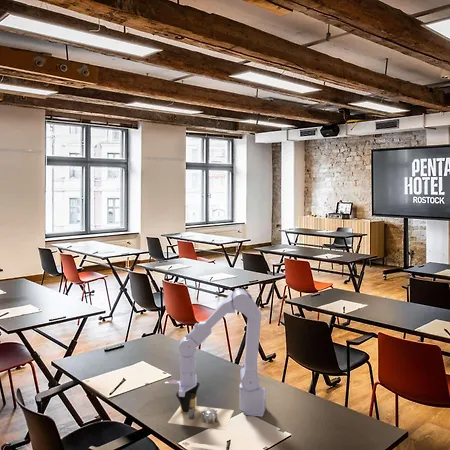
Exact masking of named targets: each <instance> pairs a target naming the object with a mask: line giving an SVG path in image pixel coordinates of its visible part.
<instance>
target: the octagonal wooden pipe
mask: <svg viewBox="0 0 450 450" xmlns="http://www.w3.org/2000/svg"><path fill="white" fill-rule="evenodd" d="M189 394H193V393H189ZM197 396H198V395H197V394H196V395H195V394H193V395H192V397H191V400H190V407H194V411H196V410H197V406H198V405H197V403H198V401H197V400H198V398H197ZM179 407H180V410H181V412H182V413H186V414H189V412H183V411H182V408H181V404H180V403H179ZM190 407H189V408H190Z"/></svg>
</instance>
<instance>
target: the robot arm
mask: <svg viewBox="0 0 450 450" xmlns="http://www.w3.org/2000/svg"><path fill="white" fill-rule="evenodd" d="M253 298H254V297H252V295H251V294H250V293H249V292H248V291H247V290H246V289H244V288H236V289H234V290H233V292H232V293H231V294H229V295H228V296H226V297H225V298H224V300H223V301H222V302H221V303H220V304H219V305H218V307H217V308H216V309H214V311H213V312H212V313H211V314H210V315H209V316H208V318H207V319H206V320H205V321H200V322H196V323H195V324H194V325H193V326H194V327H193V328H192V329H191V330H190V331H189V333H185V335H184V337H181V339H180V340H179V345H178V349H179V380H177V381H178V382H177V384H176V385H177V386H179V390H178V391H177V392H176V393H175V395H176V396H175V397H176V398H177V399H178V401H179V405H180V404H181V408H182V411H183V412H189V407H190V400H191V397H192V395H193V394H195V395H196V396H197V393H198V389H199V387H200V385H201V383H200V382H197V381H198V375H197V360H196V351H197V348H199V346H200V345H201V344H202V343H204V341H206V339H207V338H208V337H210V335H211V334H212V328H213V327H214V326H216V325H217V324H218V323H219V322H220V321H221V320H222V319H223V318H224V317H225V316H226V315H227V314H235V313H236V311H237V312H238V313H240V314H243V315H244V316H245V317H246V318H247V319H246V321H247V323H246V335H245V343H244V344H245V345H244V356H243V358H244V359H243V362H242V366H241V368H240V369H239V376H240V382H239V385H238V386H239V387H238V388H239V391H238V392H239V394H238V395H239V400H238V401H239V410H240V411H241V412H243V415H245V416H250V417H251V416H252V417H260V418H262V417H263V416H264V415H265V412H266V408H267V403H266V402H267V401H266V400H267V399H266V398H267V390H266V388H265V387H262V386H260V378H259V376H258V371H259V370H258V357H259V356H258V355H259V348H260V347H259V346H260V345H259V344H260V335H261V325H262V324H261V321H262V313H261V310H260V308H259V307H258V305H257V304H256V302H255V300H254V299H253ZM235 310H236V311H235ZM189 393H193V394H189Z"/></svg>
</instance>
